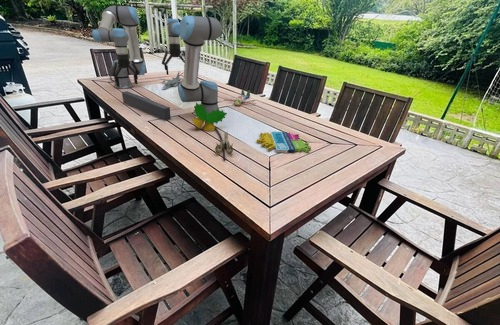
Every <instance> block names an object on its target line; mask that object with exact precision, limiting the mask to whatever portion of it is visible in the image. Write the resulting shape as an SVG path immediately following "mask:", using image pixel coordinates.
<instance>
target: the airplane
mask: <svg viewBox="0 0 500 325" xmlns="http://www.w3.org/2000/svg"><path fill="white" fill-rule="evenodd" d="M170 78H171V79H165V78H159V80H160V81H162V84H163V83H165V82H166V83H165V84H164V85H163V86H162V88H161V91H165V90H167V89H168V88H170V87H177V86H178V85H179V84H180V83H181V81H182V80H183V79H184V78H180V70H178V73H177V75H176V76H175V77H170Z"/></svg>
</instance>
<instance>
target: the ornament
mask: <svg viewBox="0 0 500 325" xmlns="http://www.w3.org/2000/svg"><path fill="white" fill-rule="evenodd" d="M219 110H220V108H219V109H217V110H216V111H214V110H212V112H211V113H208V112H206V109H204V106H201V103H198V101H197V102H195V105H194V106H193V112H194V113H195V118H192V119H191V122H192V123H193V125H195V127H197V128H198V129H202V130H203V131H206V132H212V131H213V132H214V131H216V130H215V127H216V126H215V124H218V123H219V122H223V119H226V115H227V114H228V113H227V112H224V110H223V109H221V110H220V111H219ZM207 113H208V115H207ZM214 123H215V124H214Z"/></svg>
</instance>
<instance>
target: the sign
mask: <svg viewBox="0 0 500 325" xmlns="http://www.w3.org/2000/svg"><path fill="white" fill-rule="evenodd" d="M299 136H300V135H299V134H298V133H296V134H294V133H291V132H287V131H270V132H264V133H263V132H260V133H259V139H258V138H257V139H256V143H257V144H261V148H263V147H264V148H265V149H267V151H268V152H271V151H272V150H273V149H275V152H276V153H283V154H285V153H287V154H288V153H290V154H293V153H296V152H298V153H301V152H305V153H310V151H311V150H312V149H311V148H312V146H309V142H304V141H303V139H302V138H299Z"/></svg>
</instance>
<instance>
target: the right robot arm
mask: <svg viewBox="0 0 500 325" xmlns="http://www.w3.org/2000/svg"><path fill="white" fill-rule="evenodd" d="M166 25H167V26H166V27H167V35H168V43H169V44H168V46H169V50H164V54H163V58H162V61H161V65H163V67H164V70H165V71H166V76H169V66H168V64H169V63H170V61H171V60H172V58H179V59H180V60H181V61H182V63H184V64H183V78H182V79H183V80H180V81H181V82H180V83H179V84H178V85H177V92H178V96H179V99H180V101H181V102H182V103H196V102H197V103H198V102H200V104H201V106H204V109H206V112H208V113H211V112H212V110H214V111H216V110H217V109H219V111H221V110H220V108H219V102H218V99H219V98H218V97H219V88H218V84H217V83H216V82H215V81H211V80H205V79H204V80H200V82H199V81H198V80H199V79H198V78H199V69H200V61H201V60H200V59H201V49H202V47H203V46H204V45H205V41H214V40H217V39H219V38H220V37H221V35H222V33H223V26H222V23H221V22H220V21H219V20H218V19H216V18H215V17H212V16H200V15H199V16H198V15H197V16H196V15H184V16H183V17H182V18H181V19H180V22H179V19H177V18H167V19H166ZM181 40H182V42H183V43H184V45H185V46H184V47H185V48H184V50H181V44H180V43H181ZM181 54H182V55H181ZM168 55H169V56H168ZM182 56H183V57H182ZM208 113H207V115H208ZM214 131H216V133H217V134H218V135H219V139H220V141H222V140H223V137H222V134H221V133H220V131H219V130H218V128H217V126H215V130H214ZM225 152H226V151H225V149H223V151H222V157H223V161H226V153H225Z"/></svg>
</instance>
